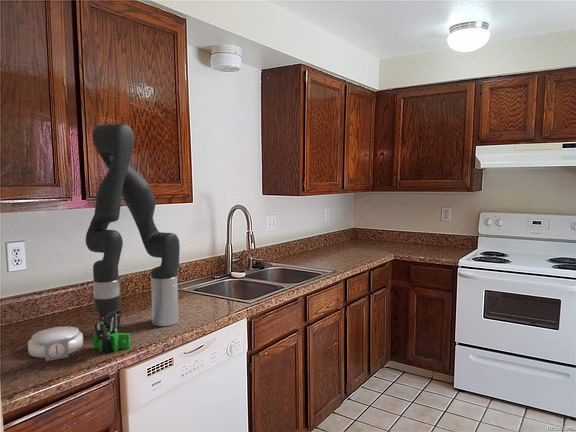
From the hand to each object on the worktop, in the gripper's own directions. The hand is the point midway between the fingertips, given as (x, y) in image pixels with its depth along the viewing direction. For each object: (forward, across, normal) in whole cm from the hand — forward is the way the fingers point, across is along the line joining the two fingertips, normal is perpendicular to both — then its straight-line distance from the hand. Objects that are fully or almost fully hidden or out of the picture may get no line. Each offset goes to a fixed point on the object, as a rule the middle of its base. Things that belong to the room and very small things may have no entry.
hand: (109, 348), depth 132 cm
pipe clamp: (+1, 0, 0) cm, 1 cm away
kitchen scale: (0, 0, +16) cm, 17 cm away
